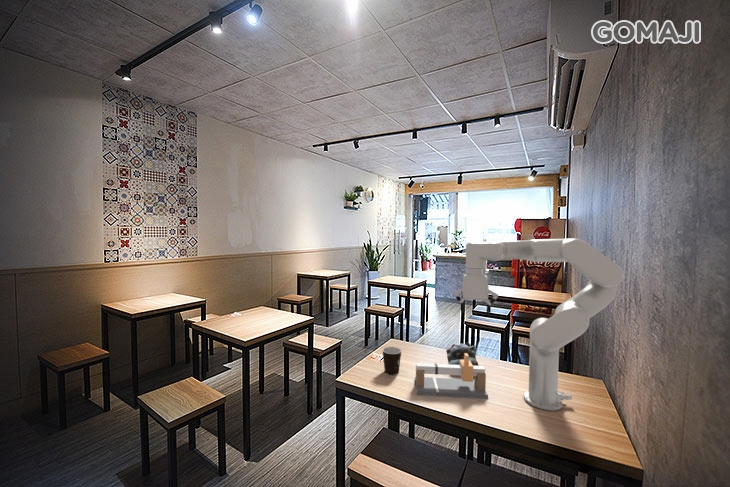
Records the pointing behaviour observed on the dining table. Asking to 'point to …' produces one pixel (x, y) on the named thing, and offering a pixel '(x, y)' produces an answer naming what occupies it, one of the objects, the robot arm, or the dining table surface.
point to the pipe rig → (449, 381)
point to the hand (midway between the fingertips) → (475, 313)
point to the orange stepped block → (466, 369)
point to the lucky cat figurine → (461, 354)
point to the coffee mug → (391, 360)
